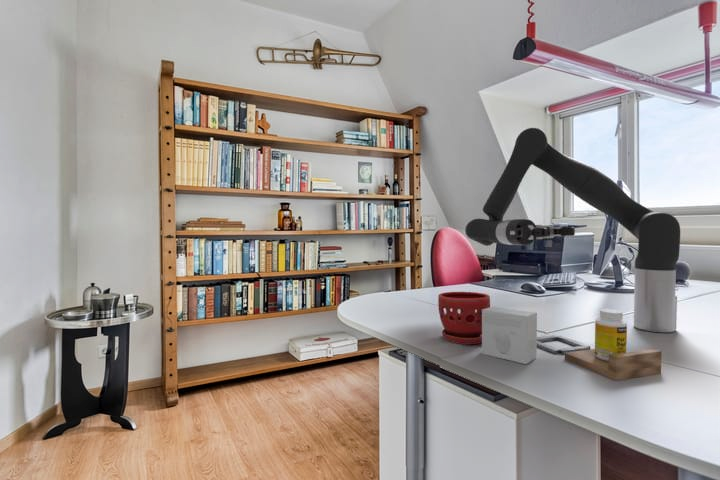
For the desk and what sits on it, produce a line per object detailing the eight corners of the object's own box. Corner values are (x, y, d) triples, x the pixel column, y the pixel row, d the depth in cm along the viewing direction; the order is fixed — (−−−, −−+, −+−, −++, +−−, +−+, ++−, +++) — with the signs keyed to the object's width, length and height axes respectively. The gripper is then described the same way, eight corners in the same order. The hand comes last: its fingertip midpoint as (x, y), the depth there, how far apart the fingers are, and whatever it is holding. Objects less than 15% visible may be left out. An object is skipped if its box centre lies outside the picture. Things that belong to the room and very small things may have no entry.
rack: (606, 353, 87) (606, 334, 86) (660, 373, 75) (661, 351, 75) (564, 359, 83) (564, 339, 83) (615, 380, 72) (615, 357, 71)
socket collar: (558, 337, 99) (558, 334, 99) (593, 350, 89) (593, 347, 89) (525, 341, 96) (525, 338, 96) (557, 355, 86) (557, 351, 86)
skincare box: (537, 357, 85) (538, 311, 84) (526, 365, 80) (526, 316, 80) (493, 347, 92) (493, 304, 92) (480, 353, 87) (480, 309, 87)
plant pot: (498, 338, 99) (498, 293, 98) (475, 350, 89) (475, 301, 89) (453, 329, 108) (453, 288, 107) (428, 339, 98) (428, 294, 98)
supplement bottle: (618, 365, 75) (620, 315, 75) (589, 357, 80) (590, 310, 80) (631, 360, 78) (632, 311, 78) (602, 352, 83) (603, 306, 83)
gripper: (494, 219, 107) (536, 217, 91) (535, 218, 111) (582, 216, 95) (494, 246, 107) (537, 248, 92) (535, 244, 111) (582, 245, 96)
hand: (560, 232), depth 94 cm, fingers open, 8 cm apart
